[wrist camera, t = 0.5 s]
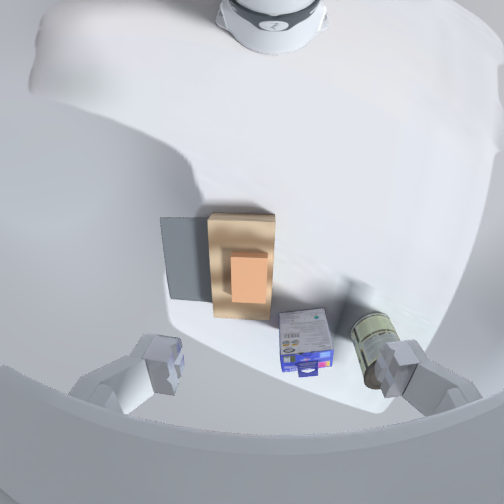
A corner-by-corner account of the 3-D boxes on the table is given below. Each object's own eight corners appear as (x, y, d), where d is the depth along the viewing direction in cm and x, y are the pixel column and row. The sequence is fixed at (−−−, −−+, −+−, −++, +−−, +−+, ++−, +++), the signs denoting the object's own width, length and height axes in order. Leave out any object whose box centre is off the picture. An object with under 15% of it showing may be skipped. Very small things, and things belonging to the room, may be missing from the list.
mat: (160, 217, 49) (159, 218, 48) (212, 218, 48) (212, 218, 48) (171, 298, 56) (171, 298, 56) (216, 301, 56) (216, 302, 56)
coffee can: (397, 327, 57) (417, 370, 44) (363, 351, 60) (376, 395, 48) (379, 304, 54) (401, 348, 41) (342, 330, 58) (355, 377, 45)
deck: (212, 212, 48) (207, 220, 44) (275, 214, 47) (275, 222, 44) (217, 305, 56) (213, 317, 53) (269, 308, 56) (269, 320, 52)
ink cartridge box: (280, 331, 59) (281, 382, 46) (277, 312, 56) (278, 363, 43) (324, 326, 57) (334, 376, 44) (324, 307, 55) (336, 357, 42)
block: (232, 251, 46) (230, 256, 45) (267, 253, 46) (267, 258, 44) (233, 295, 50) (231, 301, 48) (265, 297, 50) (265, 303, 48)
